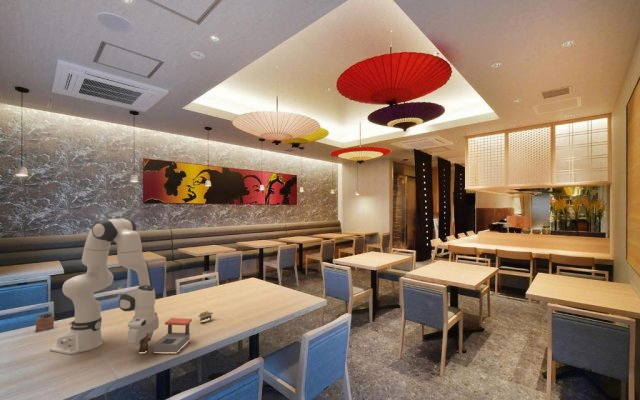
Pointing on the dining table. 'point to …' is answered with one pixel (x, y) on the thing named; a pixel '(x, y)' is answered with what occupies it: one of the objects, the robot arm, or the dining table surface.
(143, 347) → the walnut peg
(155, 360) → the dining table surface
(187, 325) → the socket stand
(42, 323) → the brick wall piece
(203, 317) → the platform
